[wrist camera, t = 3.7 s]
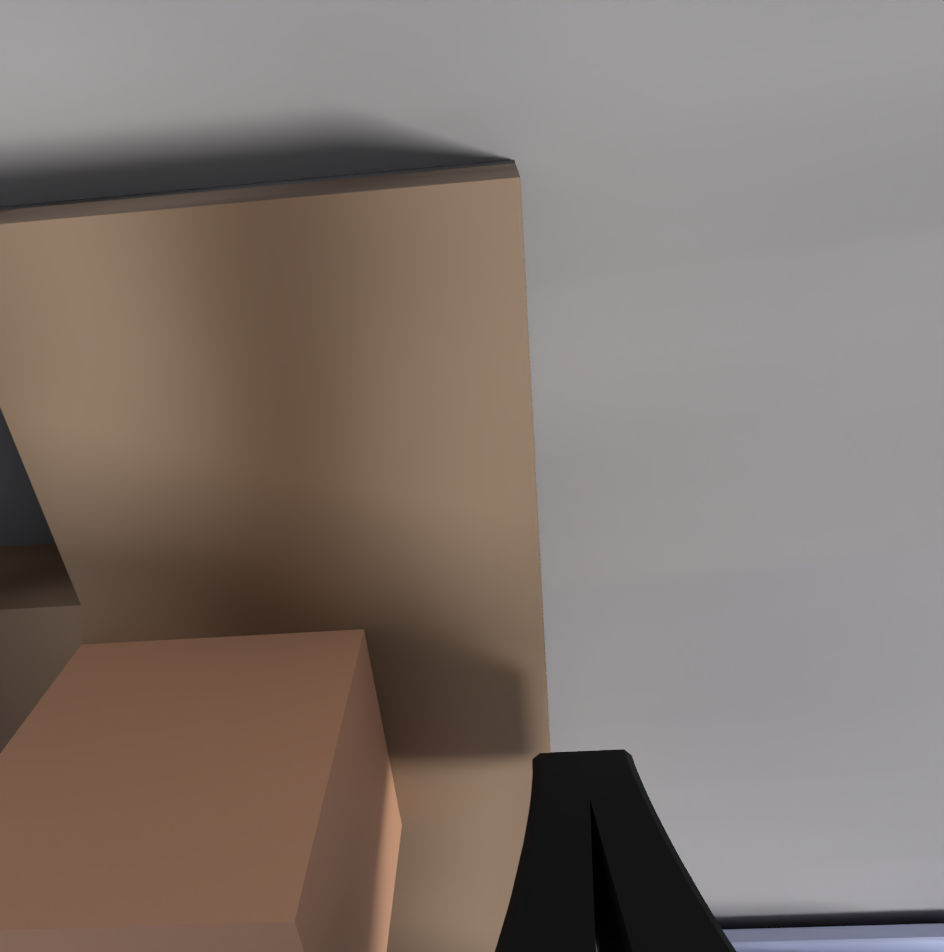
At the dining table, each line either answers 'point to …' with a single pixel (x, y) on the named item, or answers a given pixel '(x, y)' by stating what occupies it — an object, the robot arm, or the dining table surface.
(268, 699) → the terracotta cube
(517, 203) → the board
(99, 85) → the dining table surface
